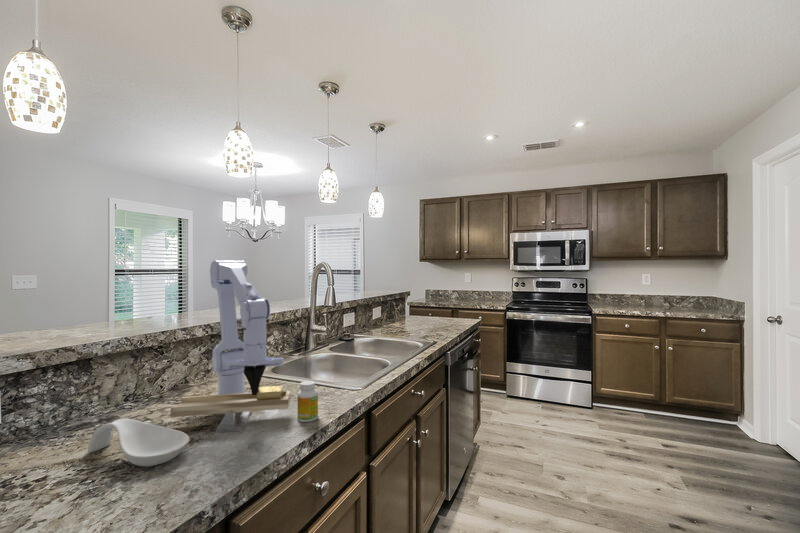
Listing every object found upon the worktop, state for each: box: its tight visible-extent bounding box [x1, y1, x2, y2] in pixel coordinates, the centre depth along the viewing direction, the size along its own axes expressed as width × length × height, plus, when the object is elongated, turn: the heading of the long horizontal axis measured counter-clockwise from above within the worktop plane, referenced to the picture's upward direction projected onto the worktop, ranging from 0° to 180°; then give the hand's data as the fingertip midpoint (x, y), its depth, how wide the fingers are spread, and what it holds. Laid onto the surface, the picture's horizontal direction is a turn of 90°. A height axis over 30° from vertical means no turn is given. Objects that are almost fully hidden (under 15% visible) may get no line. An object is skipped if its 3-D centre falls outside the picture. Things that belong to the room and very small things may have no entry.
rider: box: [257, 385, 284, 400], centre depth 99 cm, size 5×6×3 cm
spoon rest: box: [87, 417, 190, 467], centre depth 79 cm, size 24×12×7 cm, turn 74°
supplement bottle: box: [297, 380, 319, 423], centre depth 99 cm, size 5×5×10 cm
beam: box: [170, 389, 292, 418], centre depth 97 cm, size 8×28×3 cm, turn 102°
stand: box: [215, 411, 252, 434], centre depth 97 cm, size 12×6×5 cm, turn 12°
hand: (255, 394), depth 98 cm, fingers closed
